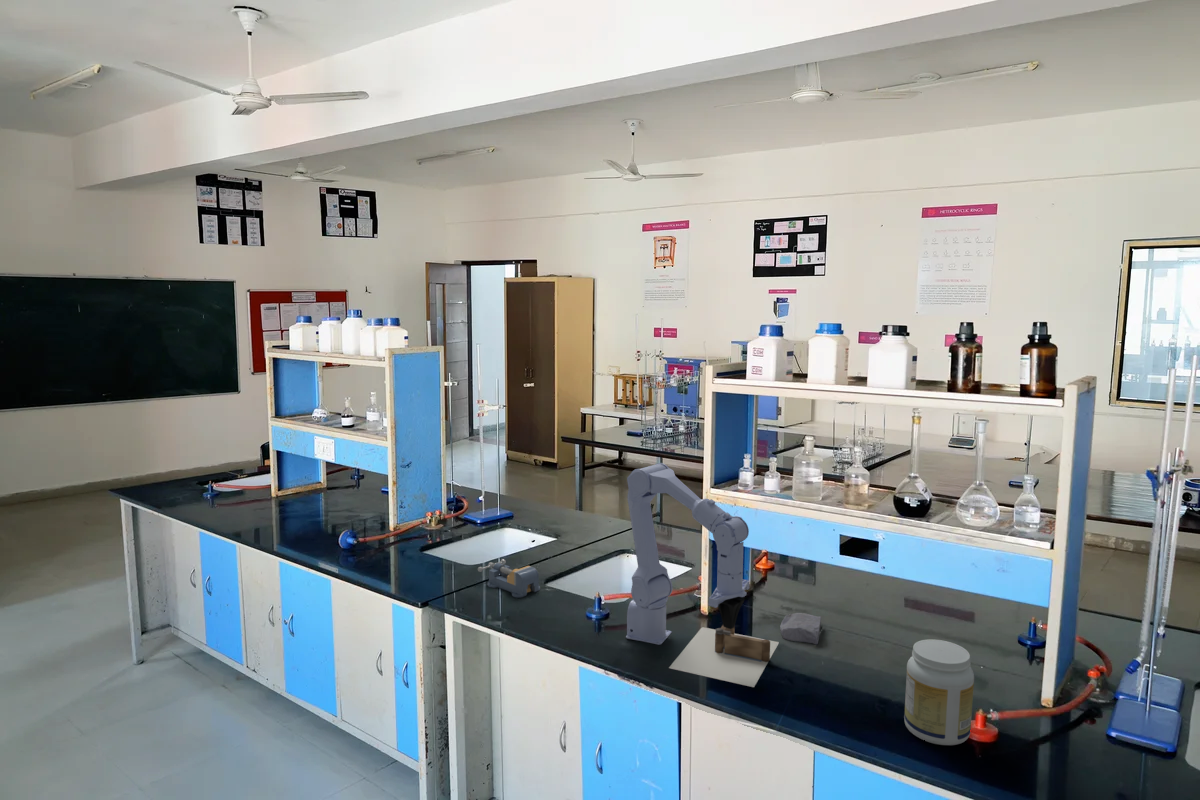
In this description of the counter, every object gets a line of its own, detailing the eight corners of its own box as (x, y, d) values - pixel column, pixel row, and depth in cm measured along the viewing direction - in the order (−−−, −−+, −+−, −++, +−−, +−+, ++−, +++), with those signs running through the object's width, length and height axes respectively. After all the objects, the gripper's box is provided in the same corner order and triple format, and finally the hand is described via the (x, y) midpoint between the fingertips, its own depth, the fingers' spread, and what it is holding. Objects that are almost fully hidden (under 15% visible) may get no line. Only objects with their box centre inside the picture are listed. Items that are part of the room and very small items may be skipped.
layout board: (668, 669, 180) (668, 667, 180) (702, 628, 201) (702, 626, 201) (753, 688, 171) (753, 687, 171) (779, 643, 192) (779, 642, 192)
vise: (543, 588, 228) (543, 567, 227) (517, 599, 220) (517, 577, 219) (503, 573, 240) (502, 553, 239) (477, 583, 232) (476, 562, 231)
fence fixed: (713, 652, 187) (714, 633, 187) (727, 633, 197) (728, 615, 197) (721, 653, 186) (722, 635, 186) (735, 634, 197) (735, 617, 196)
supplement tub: (951, 713, 161) (957, 636, 159) (982, 747, 149) (988, 664, 147) (893, 714, 161) (898, 637, 158) (919, 749, 149) (924, 666, 146)
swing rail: (714, 651, 187) (714, 630, 186) (716, 648, 189) (717, 627, 188) (768, 662, 182) (769, 640, 181) (770, 658, 184) (771, 637, 183)
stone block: (780, 648, 194) (821, 646, 191) (777, 629, 194) (818, 627, 191) (784, 630, 205) (823, 627, 202) (781, 612, 205) (820, 610, 202)
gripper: (728, 584, 169) (726, 643, 171) (761, 566, 180) (759, 621, 182) (701, 576, 174) (700, 633, 176) (735, 559, 185) (733, 613, 187)
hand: (728, 627), depth 179 cm, fingers closed
